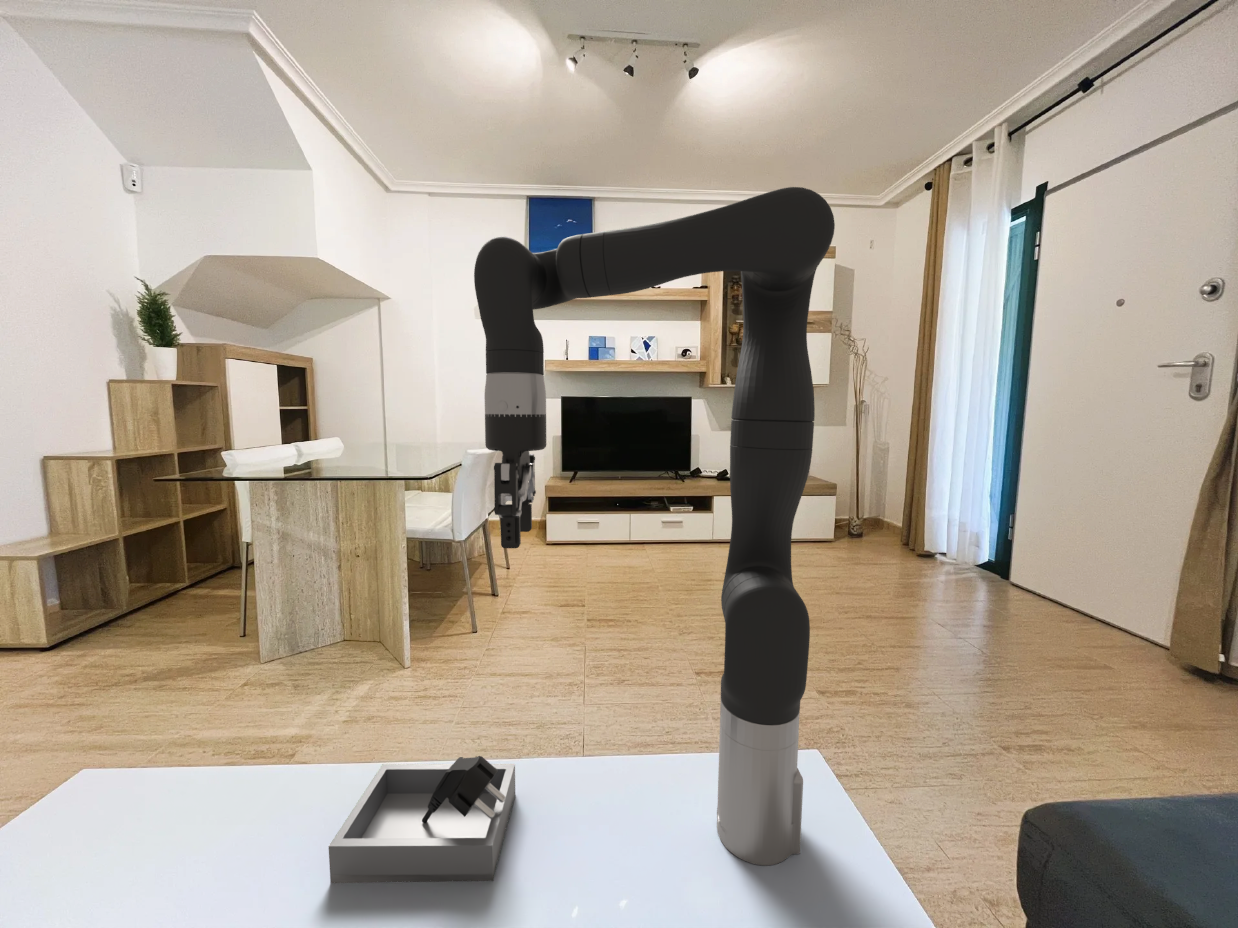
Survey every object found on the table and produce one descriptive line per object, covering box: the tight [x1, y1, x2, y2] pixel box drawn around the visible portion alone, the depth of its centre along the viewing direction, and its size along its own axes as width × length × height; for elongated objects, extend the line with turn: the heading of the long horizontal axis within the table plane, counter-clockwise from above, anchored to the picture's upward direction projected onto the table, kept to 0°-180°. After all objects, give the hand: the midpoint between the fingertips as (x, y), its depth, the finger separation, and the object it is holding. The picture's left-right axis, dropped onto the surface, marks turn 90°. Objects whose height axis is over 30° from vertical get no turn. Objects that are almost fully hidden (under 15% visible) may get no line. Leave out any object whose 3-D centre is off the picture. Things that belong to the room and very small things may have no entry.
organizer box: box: [328, 763, 516, 884], centre depth 62 cm, size 18×13×4 cm
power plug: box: [422, 755, 506, 823], centre depth 61 cm, size 6×8×12 cm
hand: (517, 538), depth 64 cm, fingers open, 8 cm apart
